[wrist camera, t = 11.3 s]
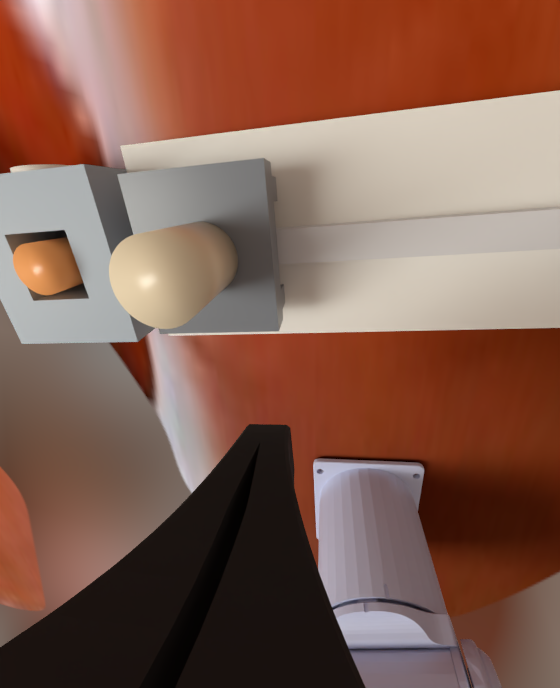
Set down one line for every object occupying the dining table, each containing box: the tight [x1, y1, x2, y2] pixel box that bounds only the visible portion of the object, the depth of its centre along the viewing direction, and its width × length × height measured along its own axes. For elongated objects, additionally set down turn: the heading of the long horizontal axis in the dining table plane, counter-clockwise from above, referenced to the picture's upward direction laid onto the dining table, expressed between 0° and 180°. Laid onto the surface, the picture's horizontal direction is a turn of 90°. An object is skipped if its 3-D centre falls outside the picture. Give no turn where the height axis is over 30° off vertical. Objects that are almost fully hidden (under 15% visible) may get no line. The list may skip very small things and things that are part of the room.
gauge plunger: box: [13, 237, 83, 295], centre depth 16 cm, size 2×2×4 cm
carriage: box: [109, 158, 285, 334], centre depth 13 cm, size 7×6×7 cm
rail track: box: [120, 90, 560, 336], centre depth 14 cm, size 10×24×4 cm, turn 95°
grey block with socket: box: [0, 164, 155, 344], centre depth 17 cm, size 8×7×4 cm
